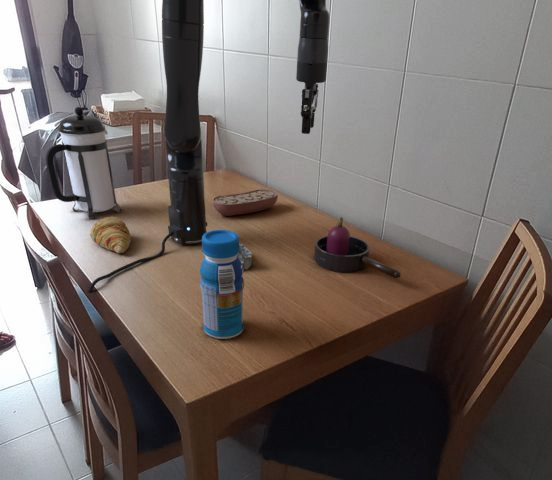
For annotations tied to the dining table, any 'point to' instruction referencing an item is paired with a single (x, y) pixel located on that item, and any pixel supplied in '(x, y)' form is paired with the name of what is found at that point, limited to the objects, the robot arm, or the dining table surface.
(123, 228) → the croissant
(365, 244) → the pan
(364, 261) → the pan handle
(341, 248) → the purple eggplant
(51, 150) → the coffee press
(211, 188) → the dining table surface
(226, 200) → the anatomical model
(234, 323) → the beverage bottle
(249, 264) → the grey irregular chunk
